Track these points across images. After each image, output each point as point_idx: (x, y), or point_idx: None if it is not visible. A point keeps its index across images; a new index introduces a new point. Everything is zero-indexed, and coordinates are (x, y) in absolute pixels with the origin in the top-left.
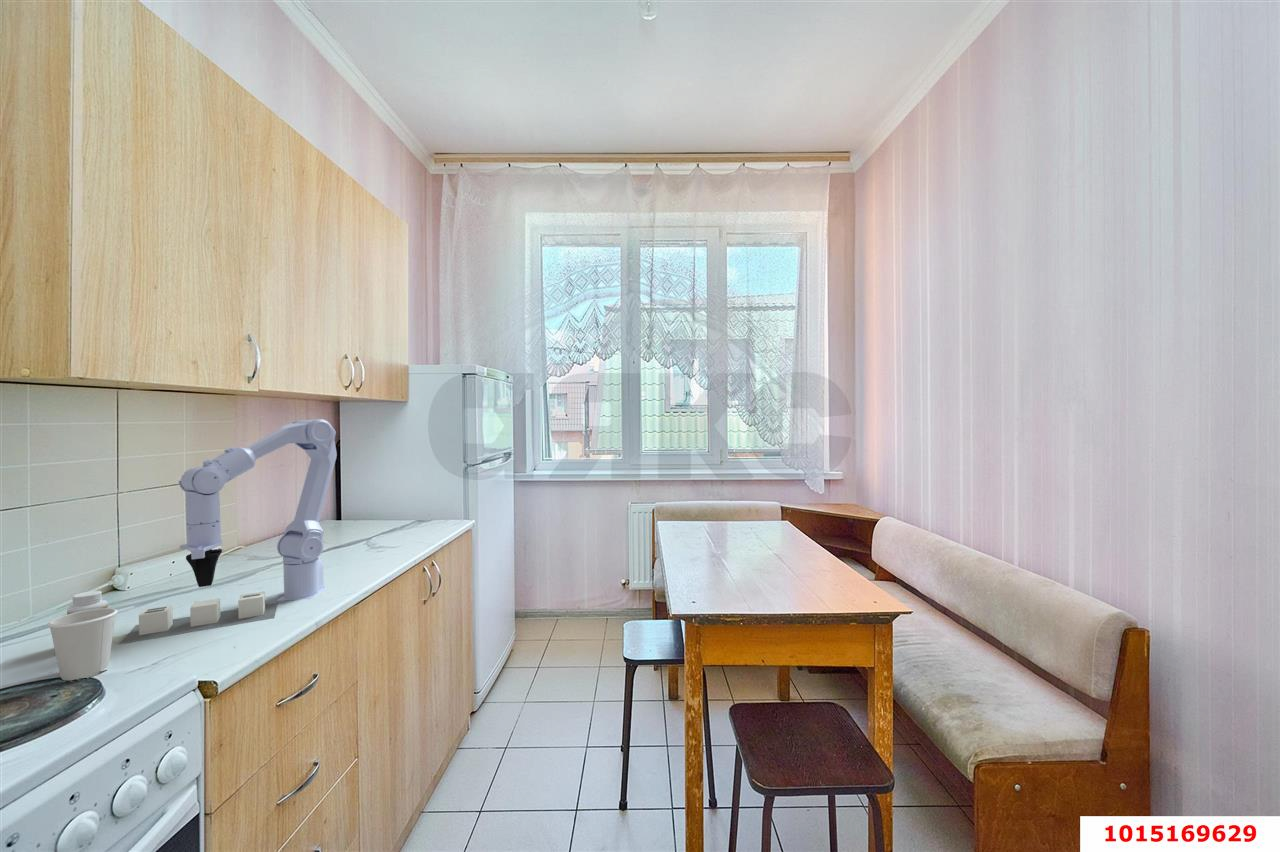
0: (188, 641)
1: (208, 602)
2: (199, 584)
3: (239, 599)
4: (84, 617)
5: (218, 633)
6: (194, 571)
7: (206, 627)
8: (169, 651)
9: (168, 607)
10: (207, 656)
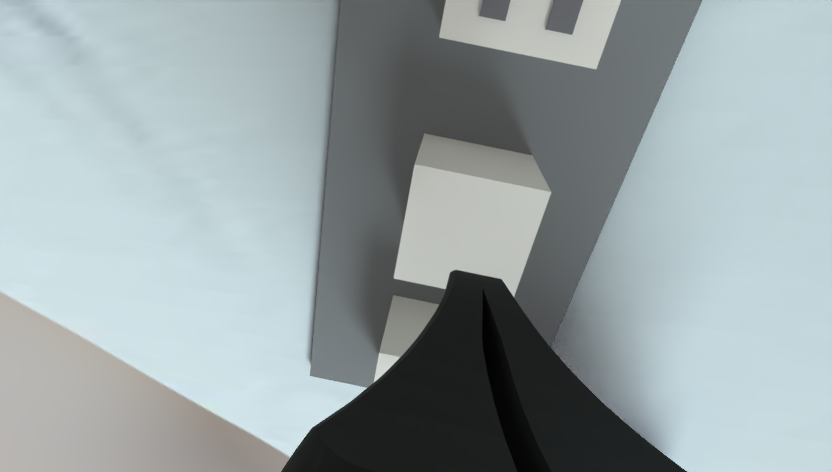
0: (241, 113)
1: (463, 250)
2: (447, 285)
3: (397, 358)
4: None
5: (281, 216)
6: (414, 346)
7: (357, 188)
8: (138, 40)
9: (547, 44)
10: (11, 162)
